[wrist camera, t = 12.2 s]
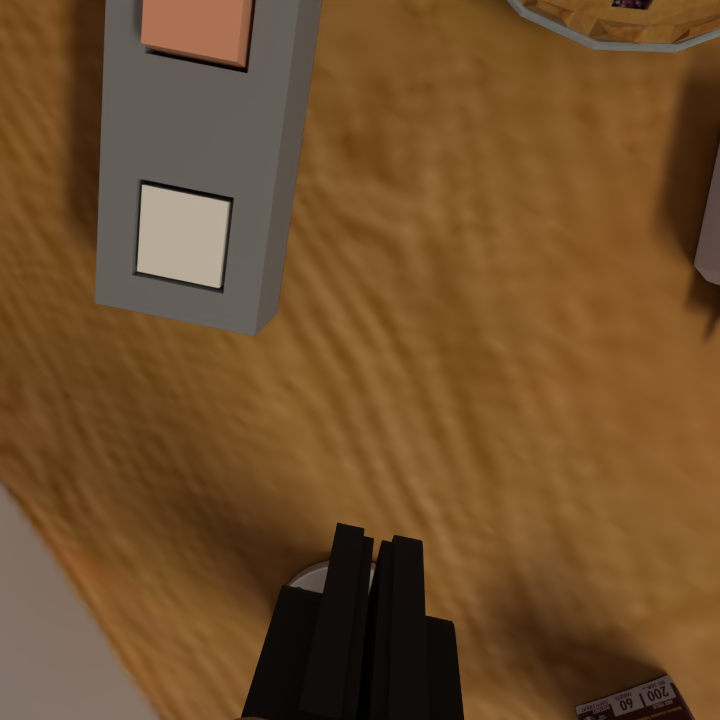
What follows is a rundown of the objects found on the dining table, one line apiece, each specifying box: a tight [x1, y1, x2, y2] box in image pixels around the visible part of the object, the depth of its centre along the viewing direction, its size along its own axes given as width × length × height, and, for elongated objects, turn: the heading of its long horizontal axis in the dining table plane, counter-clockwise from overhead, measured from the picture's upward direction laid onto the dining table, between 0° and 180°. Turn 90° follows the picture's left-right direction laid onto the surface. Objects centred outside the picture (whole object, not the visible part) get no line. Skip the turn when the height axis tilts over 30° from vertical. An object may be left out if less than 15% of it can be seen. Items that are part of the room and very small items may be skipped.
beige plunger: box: [137, 184, 234, 288], centre depth 35 cm, size 5×5×6 cm
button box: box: [95, 0, 322, 336], centre depth 33 cm, size 22×10×6 cm, turn 169°
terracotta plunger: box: [141, 0, 256, 73], centre depth 30 cm, size 5×5×6 cm
